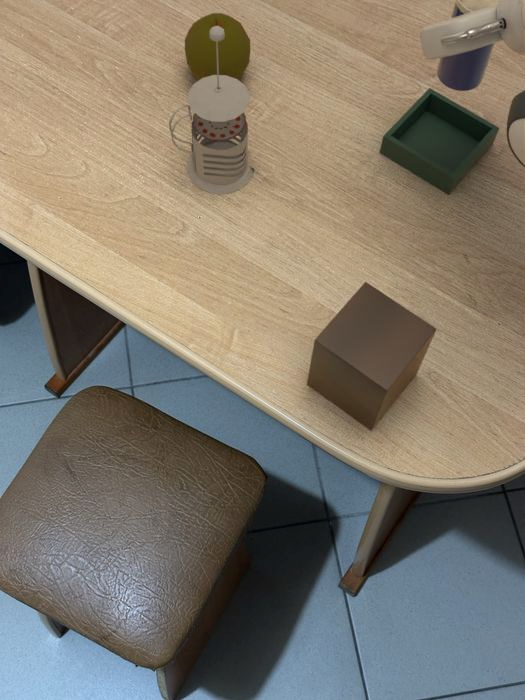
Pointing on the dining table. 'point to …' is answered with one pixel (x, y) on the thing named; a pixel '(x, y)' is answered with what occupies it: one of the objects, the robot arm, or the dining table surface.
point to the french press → (217, 131)
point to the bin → (438, 140)
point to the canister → (466, 55)
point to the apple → (229, 49)
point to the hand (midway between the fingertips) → (470, 26)
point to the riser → (368, 355)
